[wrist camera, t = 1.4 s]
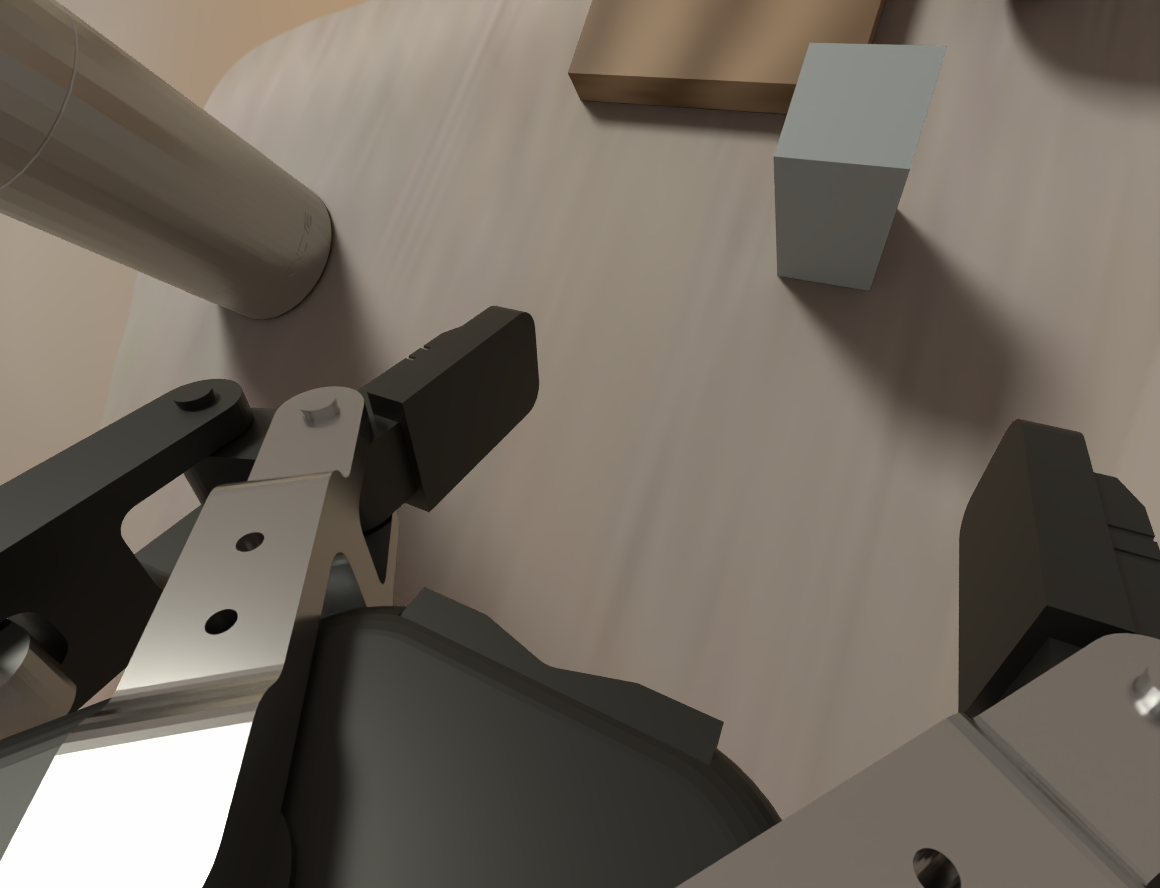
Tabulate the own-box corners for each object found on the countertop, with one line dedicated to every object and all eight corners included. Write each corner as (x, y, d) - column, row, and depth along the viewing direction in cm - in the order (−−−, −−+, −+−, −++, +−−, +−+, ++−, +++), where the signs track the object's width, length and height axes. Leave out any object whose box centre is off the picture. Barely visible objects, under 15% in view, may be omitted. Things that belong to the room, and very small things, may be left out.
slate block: (777, 275, 27) (773, 156, 19) (802, 196, 27) (809, 42, 19) (869, 290, 26) (910, 169, 17) (895, 206, 26) (947, 45, 18)
